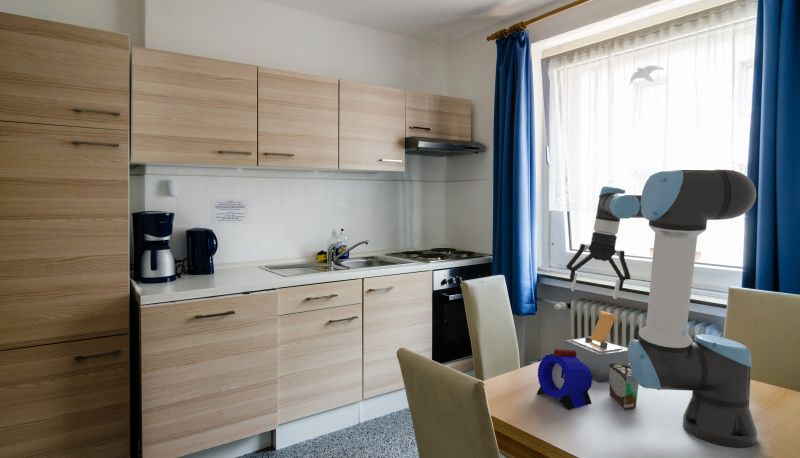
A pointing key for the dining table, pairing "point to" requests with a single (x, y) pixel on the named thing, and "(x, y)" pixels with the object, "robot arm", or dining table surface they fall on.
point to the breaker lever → (603, 326)
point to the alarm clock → (565, 378)
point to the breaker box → (597, 356)
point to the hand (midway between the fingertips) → (593, 294)
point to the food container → (622, 385)
